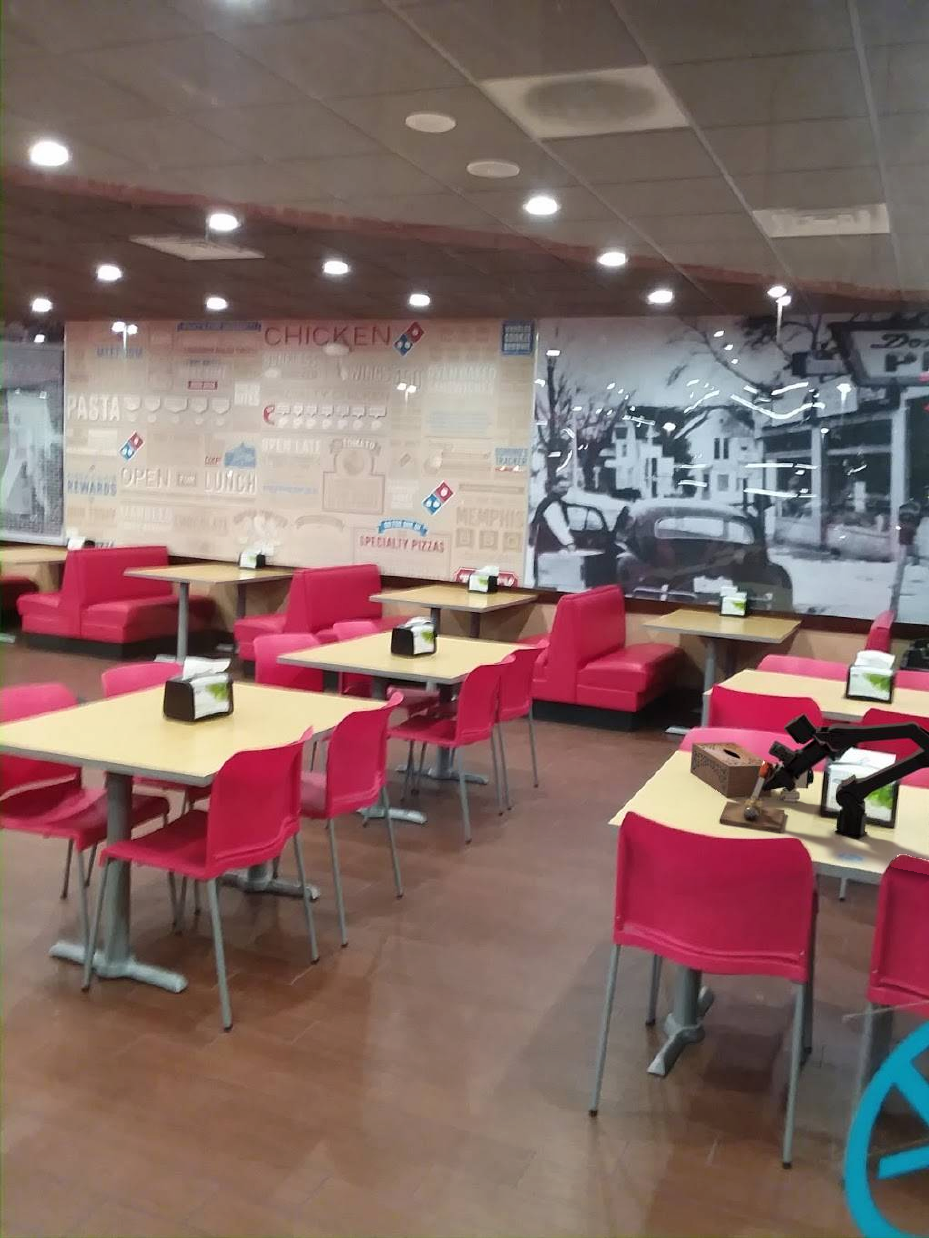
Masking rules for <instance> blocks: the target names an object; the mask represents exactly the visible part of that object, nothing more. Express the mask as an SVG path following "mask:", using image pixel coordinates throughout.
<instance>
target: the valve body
mask: <svg viewBox="0 0 929 1238" xmlns="http://www.w3.org/2000/svg"><path fill="white" fill-rule="evenodd" d="M750 798H751V800H750ZM744 804H745V805H744V814H743V816H744V819H745V820H749V821H757V819H758V818H760V816H761V813H762V806H763V800H762V799H761V797H758V799H757V801H756V798H754V797H748V799H745V802H744Z"/></svg>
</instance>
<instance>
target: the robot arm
mask: <svg viewBox="0 0 929 1238" xmlns="http://www.w3.org/2000/svg"><path fill="white" fill-rule="evenodd" d="M783 729H784V731H786V733H787V734H788V735H789V736H790V737H791V738H792V740H793V741H794V742H795V743H796V745H797V744H799V745H802V746H803V747H802V748H795V750H792V749H791V748H789V747H788V746H786V745H784V744H783V743H781V742H779V741H778V740H774V741H773V743H772V745H771V746H770V748H769V749H768V752H767V753H768V754H769V755H770V756H772V757H775V758H776V759H778V762H781V763H782V764H781V765H780V766H779V765H778V764H776V763H775V764H776V766H775V770H774V774H773V775H772V777H771V778H770V779H769V780H768V781H767V782H766V783H765V785H764V786H763V787H762V790H763V791H768V790H771V791H772V790H778V789H783V788H786V789H787V790H788V791H789V792H790V791H792V790H793V789H794V788H795V786H796V780H798V779H799V778H800V776H801V775H803V774H804V773H805V772H807V771H811V770H813V768H815V766H816V765H818V764H819V763H820V762H822V761H823V760H825V759H826V758H828V757H829V759H831V761H832V762H836V758H837V757H836V756H837V753H838V750H839V749H845V748H848V747H852V746H855V745H858V744H861V743H865V742H866V743H867V742H878V741H879V742H880V741H891V740H892V741H894V740H902V739H903V740H904V739H909V740H911V741H912V742H914V744H915V745H917V746H918V747H919V748H918V749H917V750H916V751H914V753H912V754H910V755H908V756H906V757H904V758H902V759H900V760H897V761H896V762H894V763H892V764H890V765H888V766H885V767H883V768H881V769H880V770H877V771H875V772H873V773H871V774H869V775H867V776H865V777H859V778H858V777H857V776H856V774H852V775H851V776H849V777H848V778H846V779H841V781H840V783H839V784H838V785H837V787H836V789H835V801H836V804H837V805H838V806H839V807H840V809H839V813H838V814H837V816H836V824H835V825H836V826H835V828H836V830H834V833H835V834H839V835H842V836H845V837H849V838H853V839H857V840H859V839H861V838H863V837H865V836H866V835H868V832H867V831H866V825H867V816H868V813H867V812H866V800H865V799H867V798H868V797H869V795H871V794H872V793H873V792H876V791H878V790H880V789H882V788H884V787H887V786H888V785H890V784H892V783H895V782H896V781H898V780H901V779H903V778H905V777H907V776H909V775H911V774H913V773H915V772H917V771H919V770H922V769H927V768H928V769H929V730H927V729H926V728H923V727H922V726H921V725H919V724H918V723H917V722H916V721H913V720H909V721H906V722H895V723H894V722H893V723H884V724H870V725H856V724H850V723H839V722H838V723H837V722H836V723H833V724H830V725H829V726H815V725H814V724H813V723H812V721H811V720H810V719H809V717H808V715H807V714H806V713H805V712H804V713H802V714H800V715H798V716H796V717H795V718H792V719H791V720H790V721H788V722H787V724H785V725H784V726H783Z"/></svg>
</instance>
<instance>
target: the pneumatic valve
mask: <svg viewBox="0 0 929 1238" xmlns="http://www.w3.org/2000/svg"><path fill="white" fill-rule="evenodd" d="M776 764H778V765H779V766H780V765H781V764H782V762H781V761H778V762H777V761H775V765H774V764H773V765H774V767H771V770H770V778H771V777H772V775H773V774H774V770H775V766H776ZM814 779H815V773H814V769H812V770H811V771H807V772H805V773H804V774H803V775H801V776H800V778H799V779H798V780H796V786H795V788H794V789H793V790H792V791H790V792H789V791H788V790H787V789H786V788H781V790H780V792H779V797H780V799H782V800H783V801H784V803H797V802H798V800H800V798H801V795H800V794H801V793H800V791H797V789H806V790H807V789H809V786H810V785H812V784H814V781H815V780H814Z"/></svg>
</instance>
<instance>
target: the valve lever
mask: <svg viewBox="0 0 929 1238" xmlns="http://www.w3.org/2000/svg"><path fill="white" fill-rule="evenodd" d="M772 765H774V764H773V763H772V762H771V761H768V760H765V759H764V760H763V763H762V766H761V768H760V771H759V773H758V776H759V779H758V782H757V784H756V787H755V789H754V792H753V794H752V796H751V797H754V798H756V801H757V799H758V795H759V792H760V790H761V787H762V785H763V782H764V779H767V777H768V775H769V772H770V770H771V767H772ZM749 798H750V797H749ZM750 800H751V798H750Z"/></svg>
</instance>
